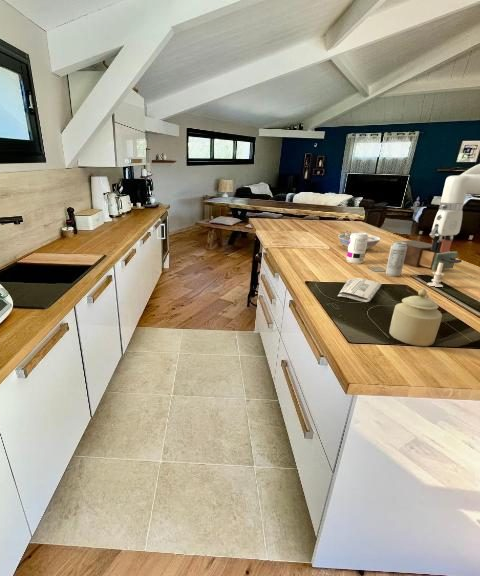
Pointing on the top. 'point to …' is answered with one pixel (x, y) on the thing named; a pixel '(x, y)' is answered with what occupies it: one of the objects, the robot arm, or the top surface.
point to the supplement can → (357, 247)
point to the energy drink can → (396, 259)
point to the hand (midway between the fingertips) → (439, 249)
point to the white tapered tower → (437, 276)
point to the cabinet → (414, 252)
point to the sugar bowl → (416, 320)
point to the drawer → (437, 259)
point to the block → (444, 245)
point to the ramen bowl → (370, 243)
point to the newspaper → (360, 289)
